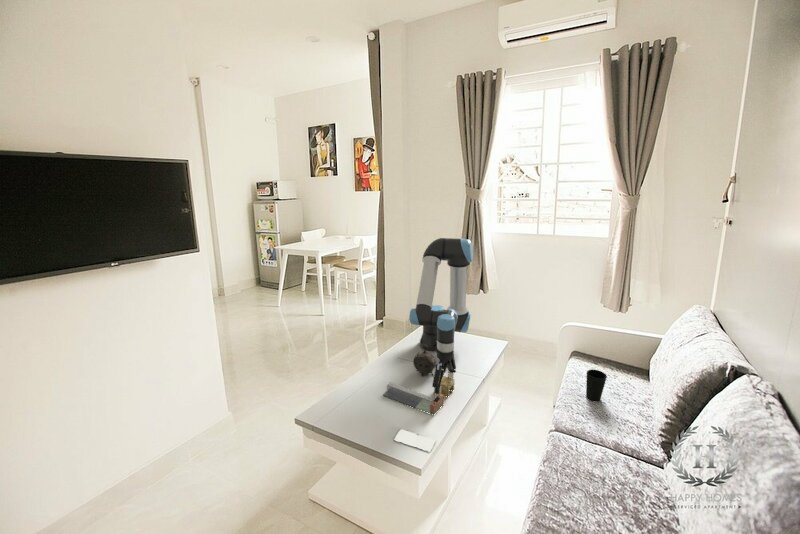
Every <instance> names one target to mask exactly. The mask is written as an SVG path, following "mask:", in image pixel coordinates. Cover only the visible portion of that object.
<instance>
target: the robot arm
mask: <svg viewBox="0 0 800 534" xmlns="http://www.w3.org/2000/svg"><path fill="white" fill-rule="evenodd" d="M473 260H474V252H473V244H472V241H471V240H470V239H467V238H452V237H451V238H448V237H447V238H446V237H439V238H436V239H435V240H433V241H432V242H431V243H429V245H428V246H427V247H426V249H425V250H424V252H423V255H422V263H423V266H422V270H421V271H422V272H421V276H420V282H419V287H418V293H417V294H418V295H417V298H416V299H417V300H416V305H415V308H411V309H410V312H409V317H408V318H409V323H410V324H412V325H415V326H422V333H421V337H420V339H419V346H420V347H421V346H422V345H424V346H422V348H421V349H423V350H427V347H428V350H427V351H428V352H430V351H431V352H436V358H437V359H438V360H439V361H438V362H439V363H438V364H437V363H436V367H435V368H434V369H435V370H434V373H433V378H432V379H433V381H432V385H431V386H432V388H433V389H434V388H435V393H434V398H436V397H437V396H438V395H439V394H441V386H440V385H441V382H442V378H443V376H445V375H444V374H445V373H446V371H447V377H449V378H452V379H454V375H455V373H457V372H456V371H457V370H456V369H457V366H456V361H455V354H454V353H455V351H454V349H455V332H457V333H467V332H468V330H469V325H470V321H471V315H472V312H471V311H469V308H468V307H467V305H466V303H467V276H468V275H467V274H468V273H467V270H468V267H469V266H470V265H471V264H470V263H472V262H473ZM442 261H446V262H447V266H448V267H449V268H450V269H449V271H450V273H449V274H450V275H449V277H450V278H449V279H450V280H449V306H448V307H447V308H446V309H445V308H444V306H443V305H439V304H438V305H437V304H435V305H433V301H434V296H435V291H436V290H435V289H436V283H437V275H438V272H439V271H438V269H439V266H441V263H442ZM425 345H426V346H427V347H426V346H425Z"/></svg>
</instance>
